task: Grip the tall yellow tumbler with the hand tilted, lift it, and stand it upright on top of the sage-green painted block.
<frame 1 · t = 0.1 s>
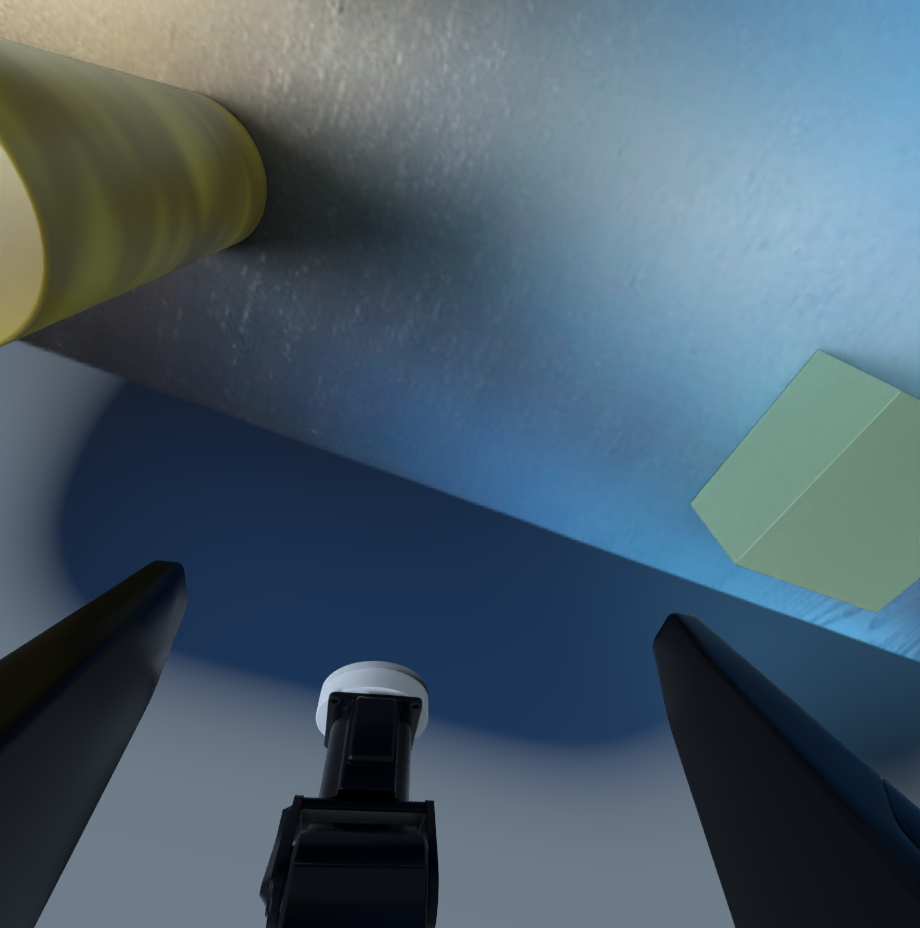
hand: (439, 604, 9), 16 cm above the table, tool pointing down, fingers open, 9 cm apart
yellow tumbler: (197, 174, 19), on the table
green block: (816, 463, 27), on the table
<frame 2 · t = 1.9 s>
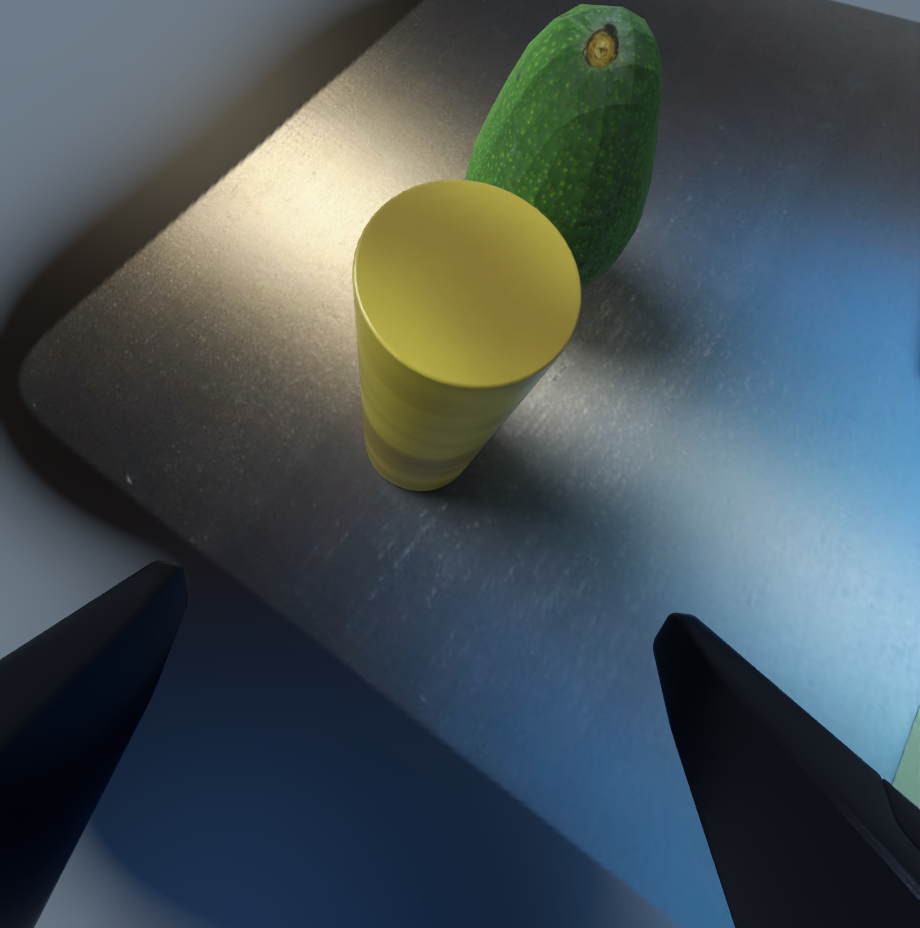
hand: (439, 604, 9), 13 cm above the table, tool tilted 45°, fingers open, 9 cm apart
yellow tumbler: (420, 437, 23), on the table
fruit: (517, 269, 27), on the table
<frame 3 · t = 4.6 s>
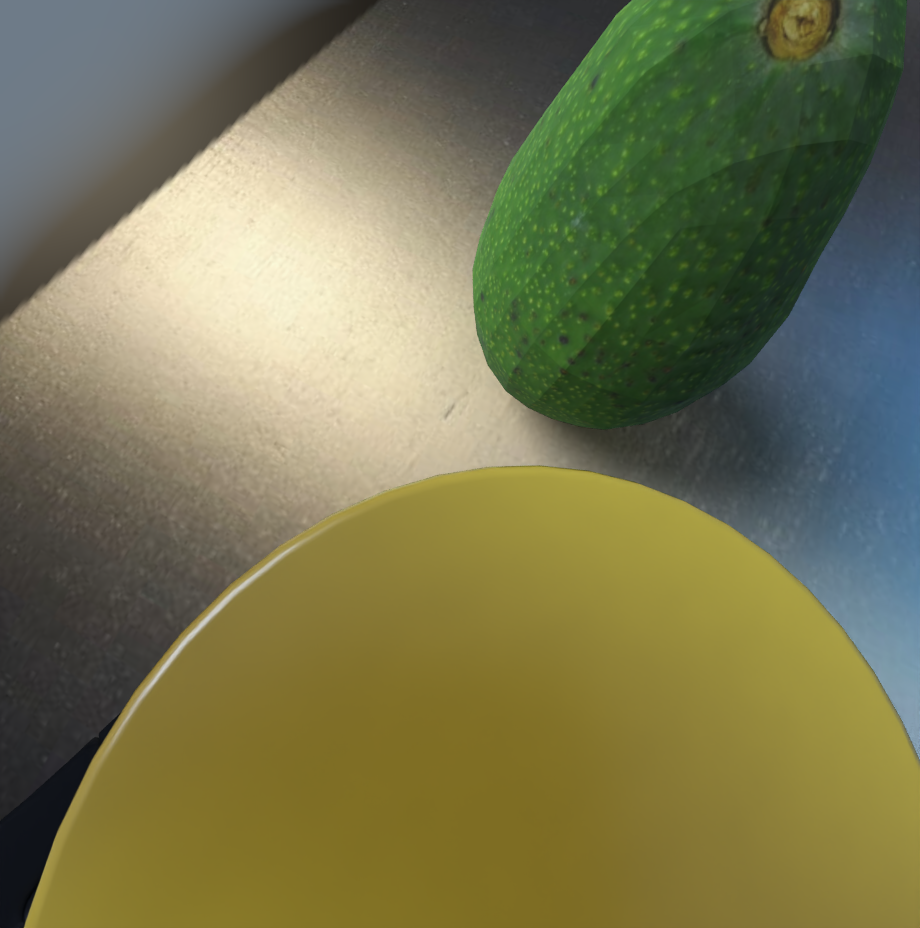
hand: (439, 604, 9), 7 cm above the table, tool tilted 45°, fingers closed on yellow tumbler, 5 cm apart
yellow tumbler: (406, 639, 15), on the table, touching gripper
fruit: (551, 358, 18), on the table
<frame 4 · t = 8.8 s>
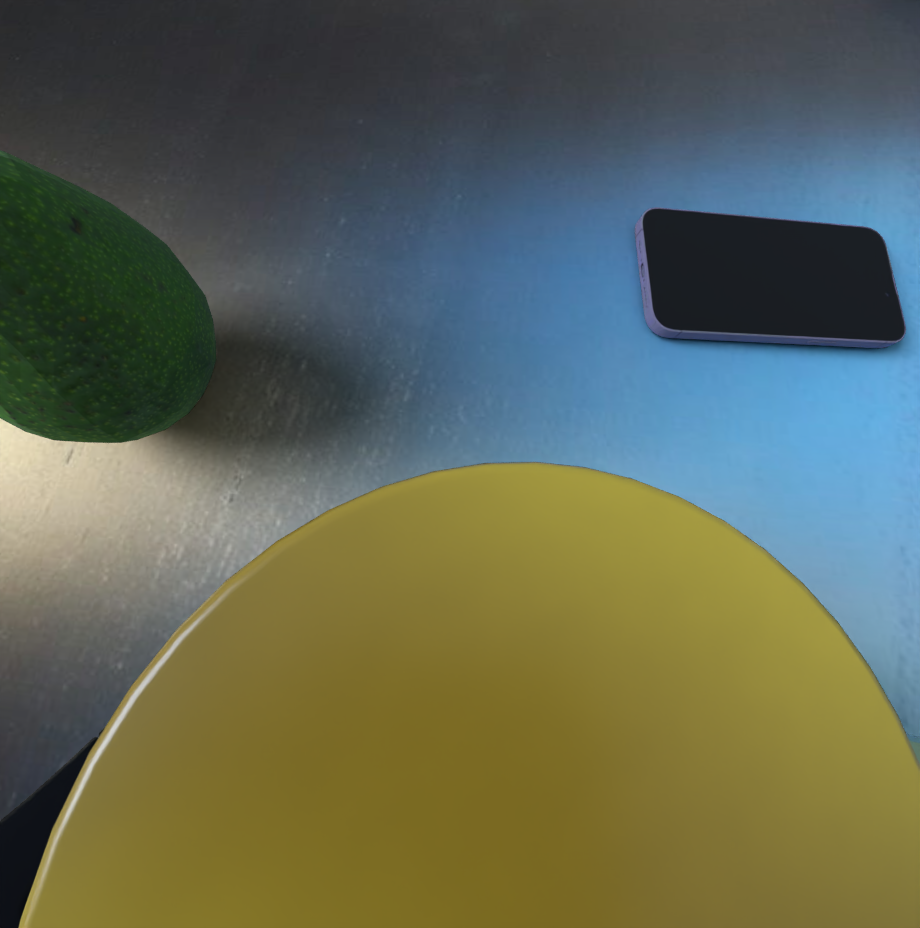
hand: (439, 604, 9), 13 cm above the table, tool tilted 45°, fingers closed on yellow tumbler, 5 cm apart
yellow tumbler: (405, 638, 15), point 7 cm above the table, touching gripper
fruit: (152, 383, 22), on the table
smartphone: (759, 288, 29), on the table
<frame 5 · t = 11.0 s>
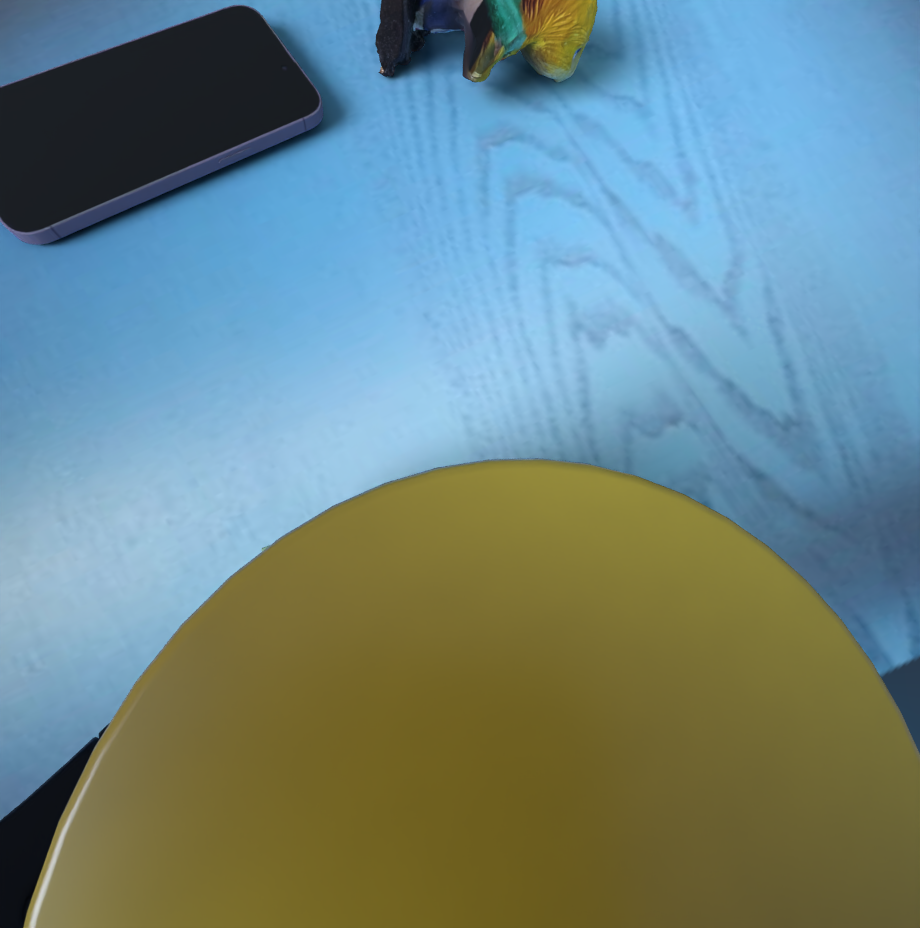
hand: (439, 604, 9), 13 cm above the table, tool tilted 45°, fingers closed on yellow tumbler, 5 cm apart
yellow tumbler: (406, 637, 15), point 7 cm above the table, touching gripper
figurine: (467, 59, 29), on the table
smartphone: (155, 132, 25), on the table
when the fingers open (12 cm above the table, at t = 12.8 s): yellow tumbler stays where it is, resting on green block.
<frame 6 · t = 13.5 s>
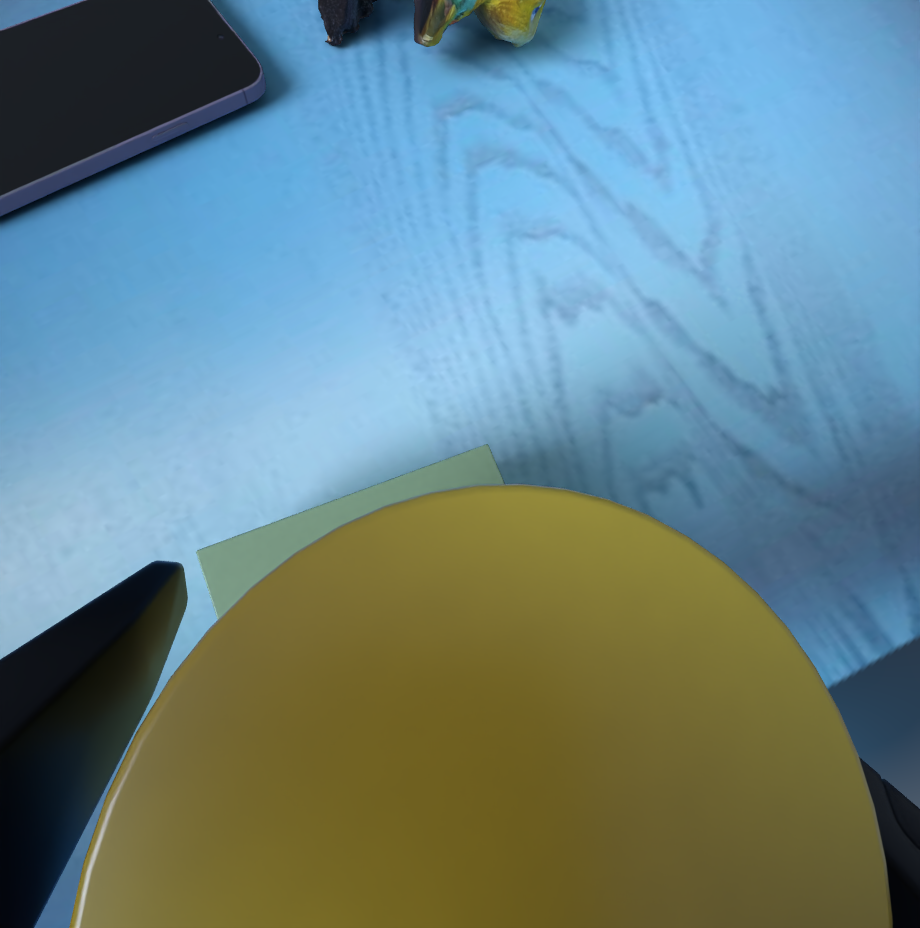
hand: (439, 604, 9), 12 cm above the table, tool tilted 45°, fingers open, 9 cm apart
yellow tumbler: (405, 639, 15), point 5 cm above the table, touching green block
green block: (399, 624, 20), on the table
figurine: (421, 26, 28), on the table
smartphone: (83, 110, 23), on the table
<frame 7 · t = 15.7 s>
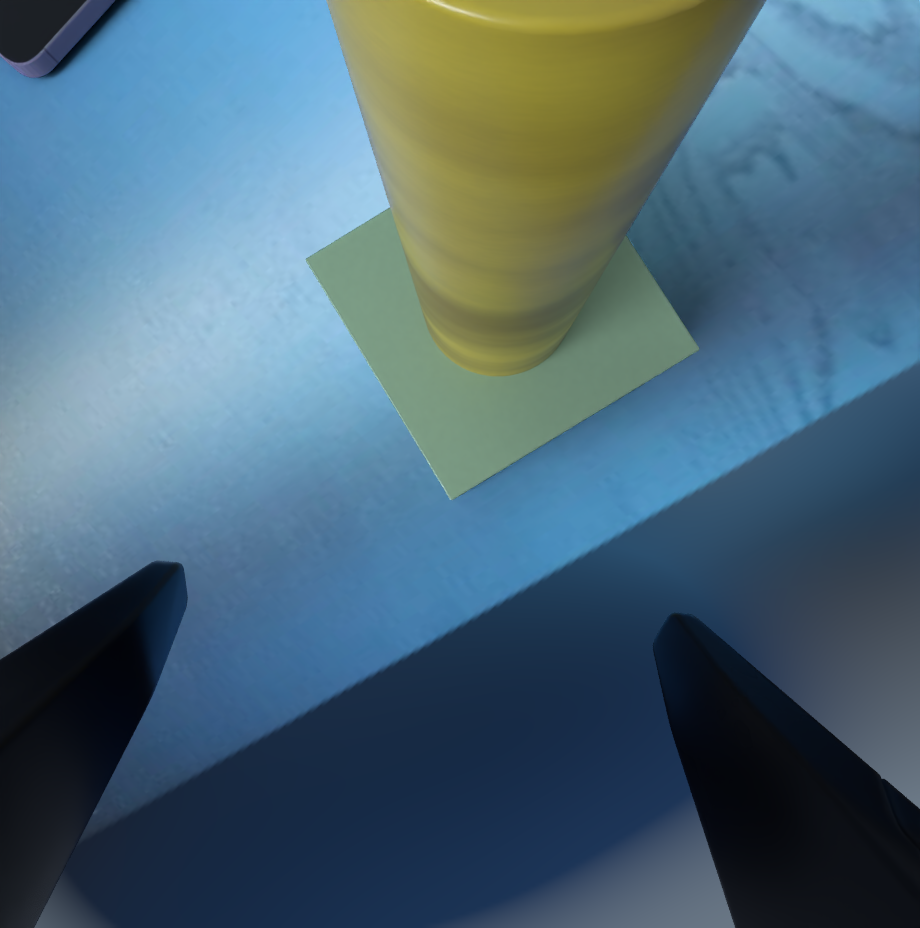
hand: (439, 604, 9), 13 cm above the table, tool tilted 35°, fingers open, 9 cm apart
yellow tumbler: (497, 303, 17), point 5 cm above the table, touching green block
green block: (494, 344, 22), on the table
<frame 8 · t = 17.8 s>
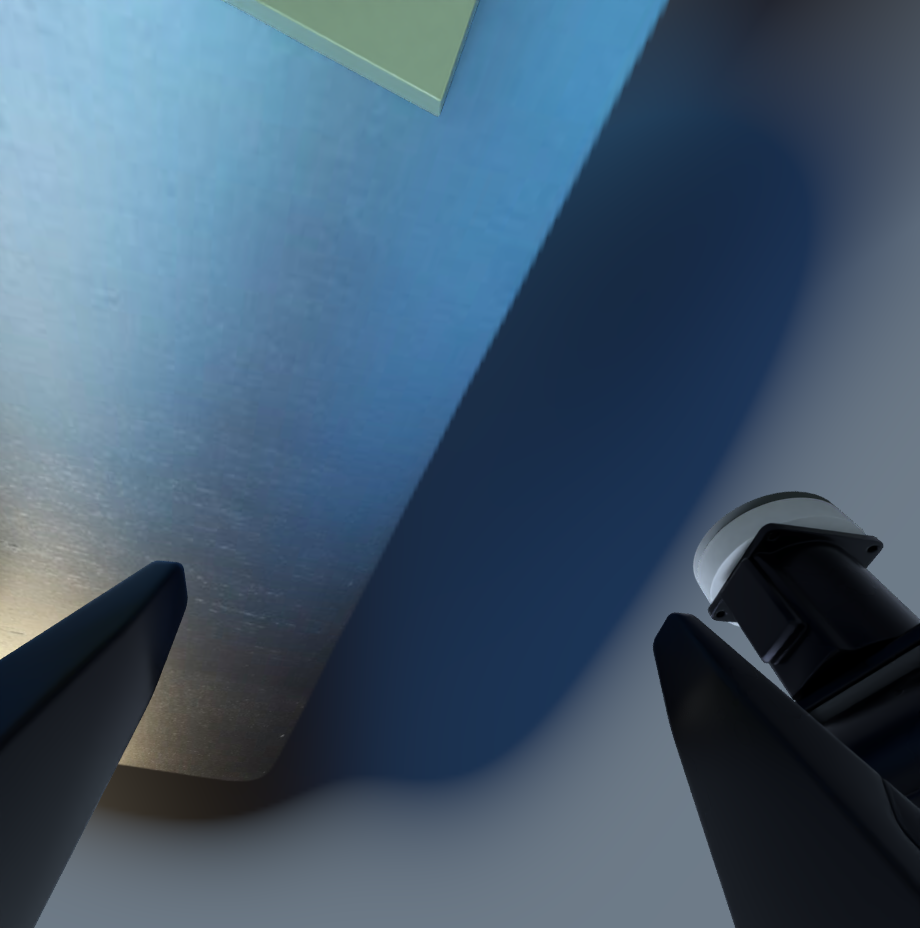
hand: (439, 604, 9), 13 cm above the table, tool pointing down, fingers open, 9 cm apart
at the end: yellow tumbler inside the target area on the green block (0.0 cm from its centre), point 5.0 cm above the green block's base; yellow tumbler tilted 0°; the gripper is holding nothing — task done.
